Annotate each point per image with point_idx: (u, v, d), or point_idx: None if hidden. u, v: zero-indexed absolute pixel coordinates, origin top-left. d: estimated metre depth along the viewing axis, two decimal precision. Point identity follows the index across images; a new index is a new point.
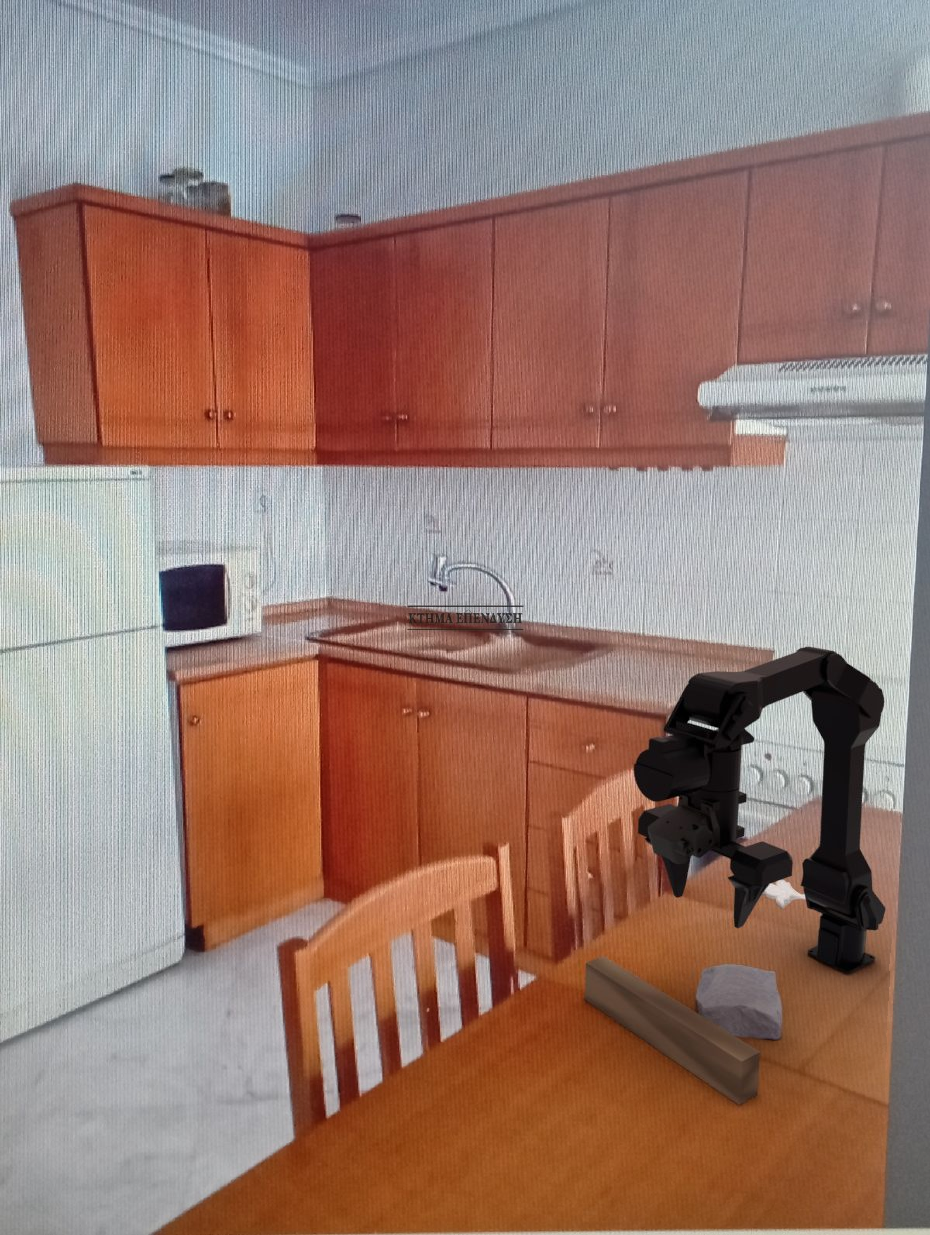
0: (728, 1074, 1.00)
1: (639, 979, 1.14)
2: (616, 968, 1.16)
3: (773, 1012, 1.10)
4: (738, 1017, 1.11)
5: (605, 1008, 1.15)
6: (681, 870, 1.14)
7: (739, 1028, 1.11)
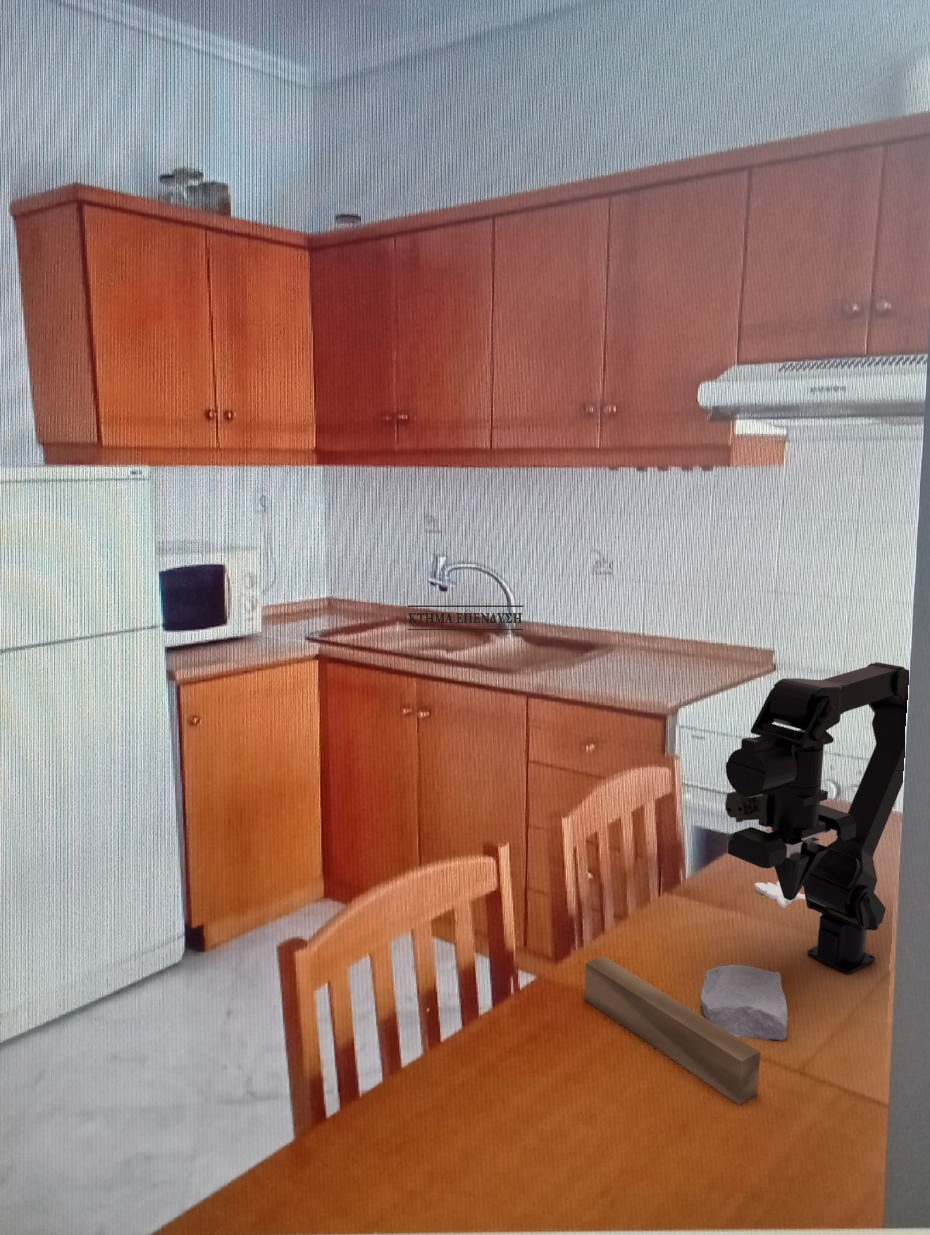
0: (728, 1074, 1.00)
1: (639, 979, 1.14)
2: (616, 968, 1.16)
3: (778, 1013, 1.10)
4: (743, 1018, 1.11)
5: (605, 1008, 1.15)
6: None
7: (744, 1029, 1.11)
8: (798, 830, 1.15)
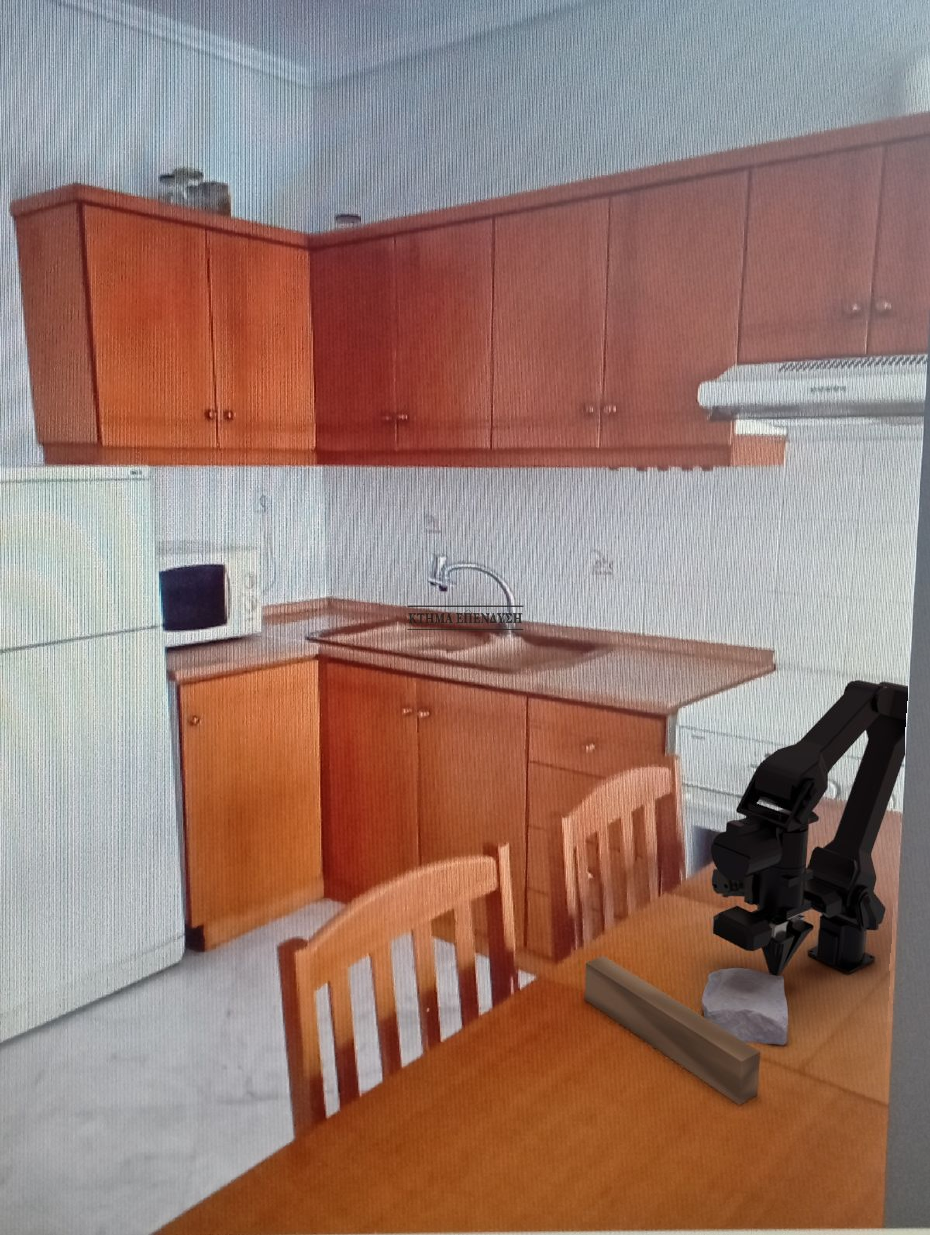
0: (728, 1074, 1.00)
1: (639, 979, 1.14)
2: (616, 968, 1.16)
3: (778, 1017, 1.09)
4: (743, 1022, 1.10)
5: (605, 1008, 1.15)
6: None
7: (744, 1033, 1.10)
8: (783, 910, 1.16)
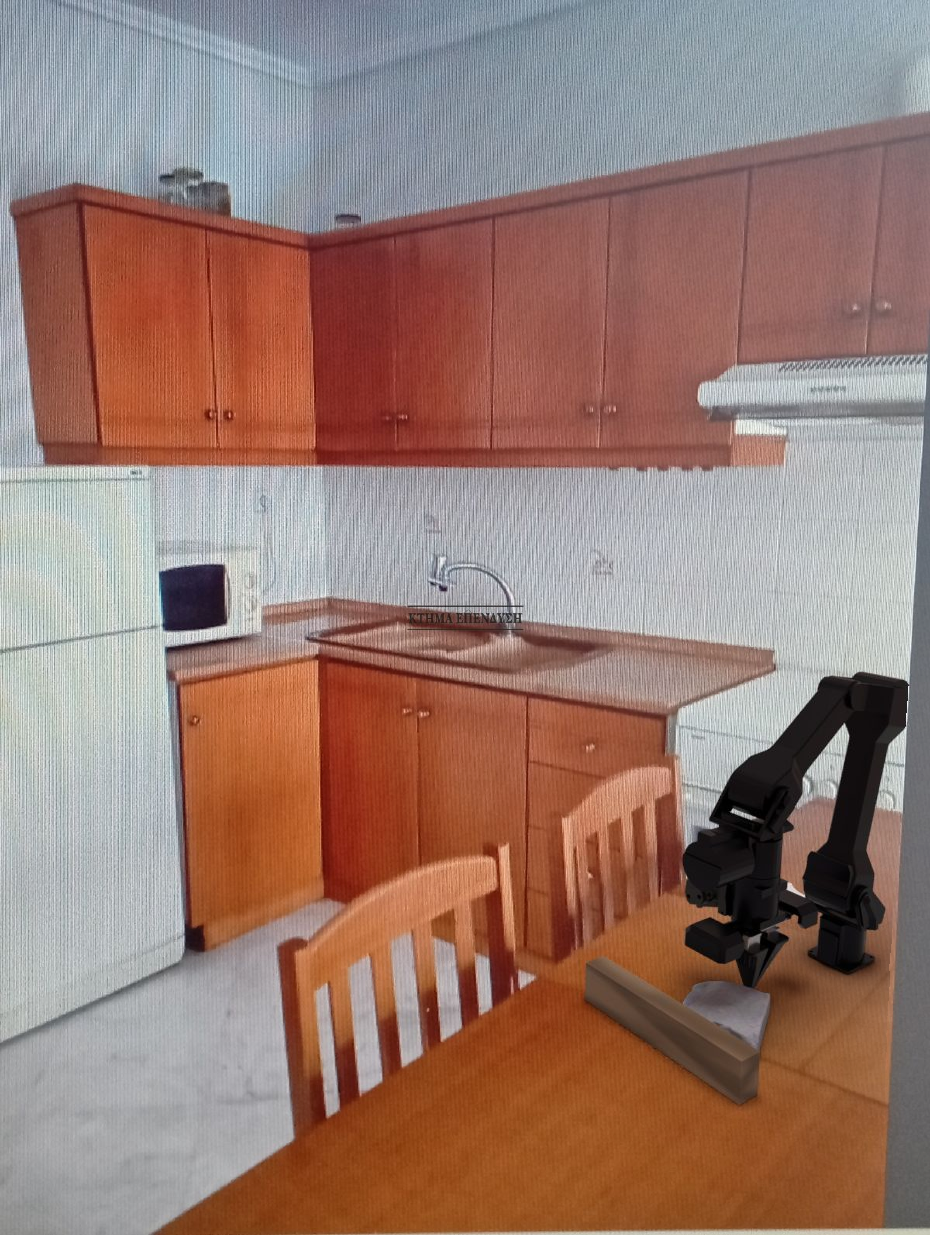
0: (728, 1074, 1.00)
1: (639, 979, 1.14)
2: (616, 968, 1.16)
3: (748, 1033, 1.06)
4: None
5: (605, 1008, 1.15)
6: None
7: None
8: (757, 922, 1.13)
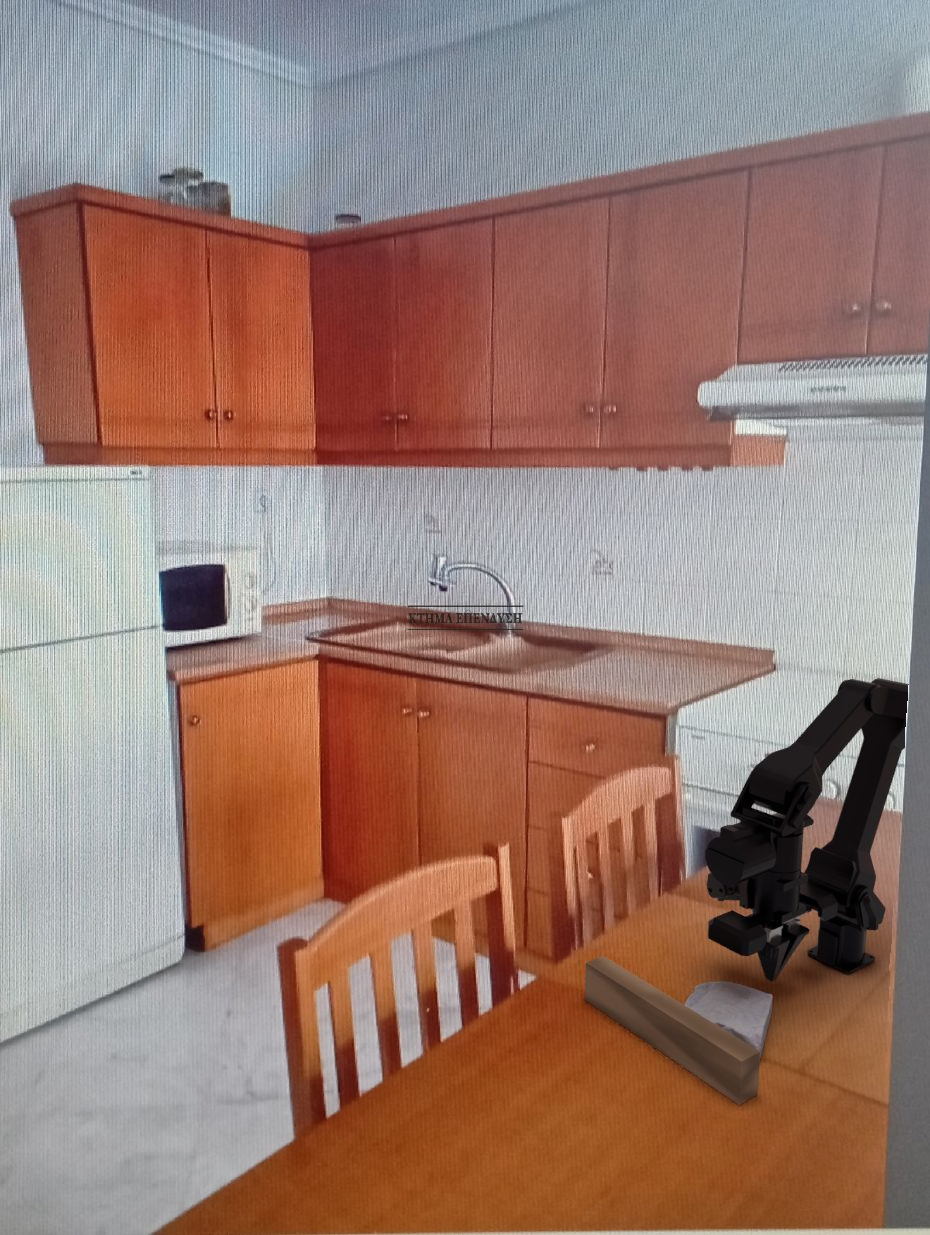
0: (728, 1074, 1.00)
1: (639, 979, 1.14)
2: (616, 968, 1.16)
3: (751, 1034, 1.06)
4: None
5: (605, 1008, 1.15)
6: None
7: None
8: (778, 915, 1.15)
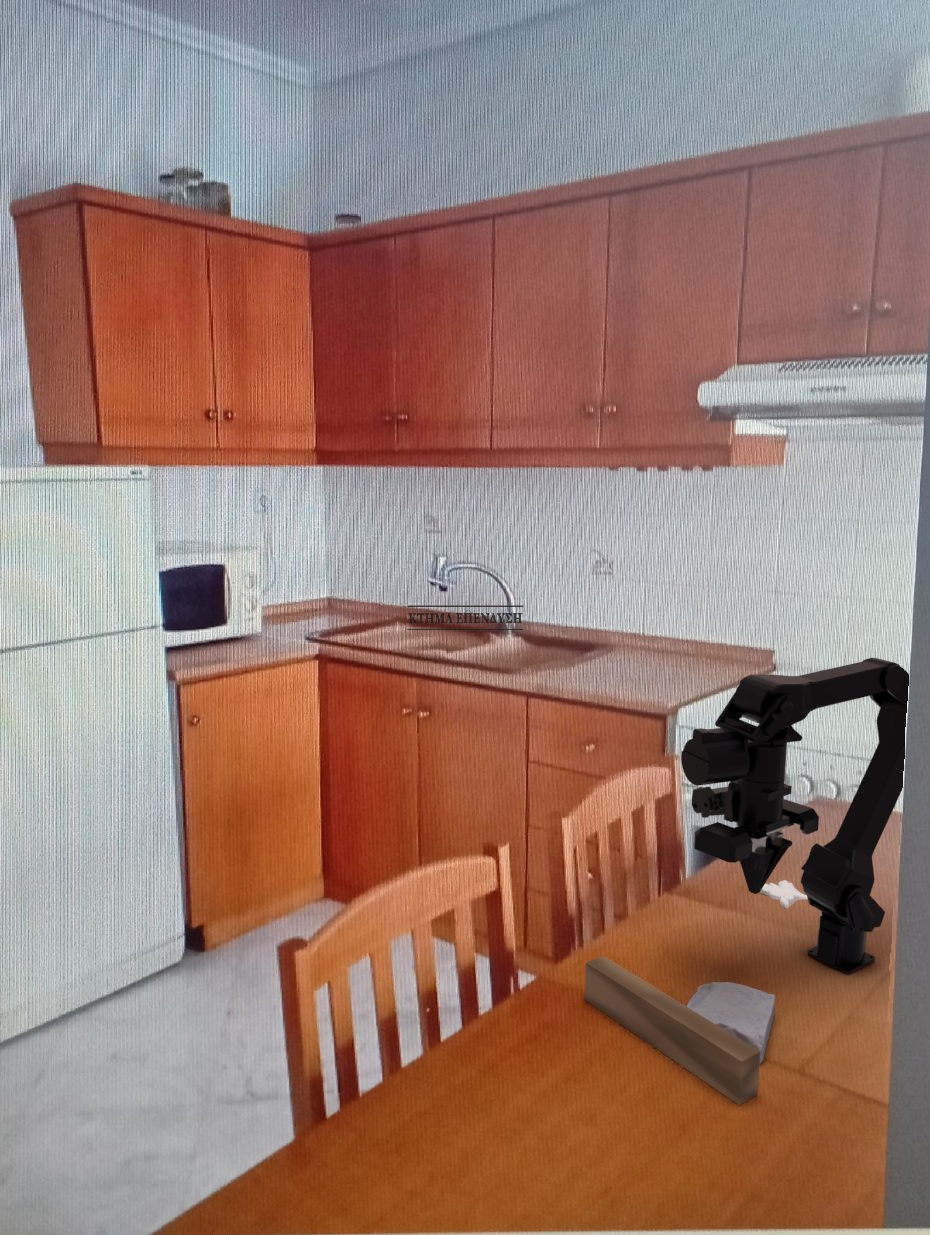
0: (728, 1074, 1.00)
1: (639, 979, 1.14)
2: (616, 968, 1.16)
3: (754, 1035, 1.06)
4: None
5: (605, 1008, 1.15)
6: None
7: None
8: (763, 824, 1.17)
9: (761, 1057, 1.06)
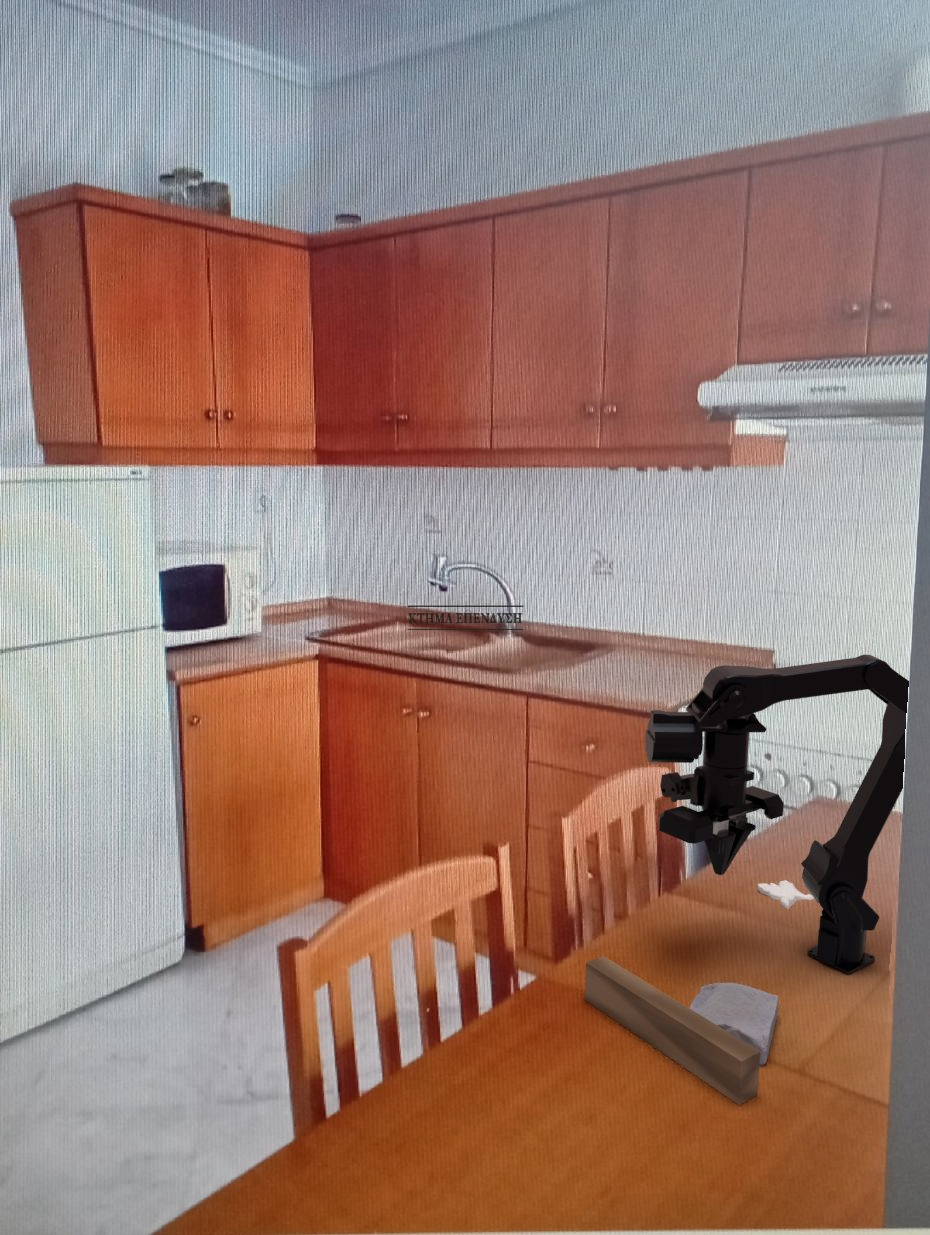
0: (728, 1074, 1.00)
1: (639, 979, 1.14)
2: (616, 968, 1.16)
3: (757, 1036, 1.05)
4: None
5: (605, 1008, 1.15)
6: None
7: None
8: (725, 808, 1.22)
9: (765, 1058, 1.05)
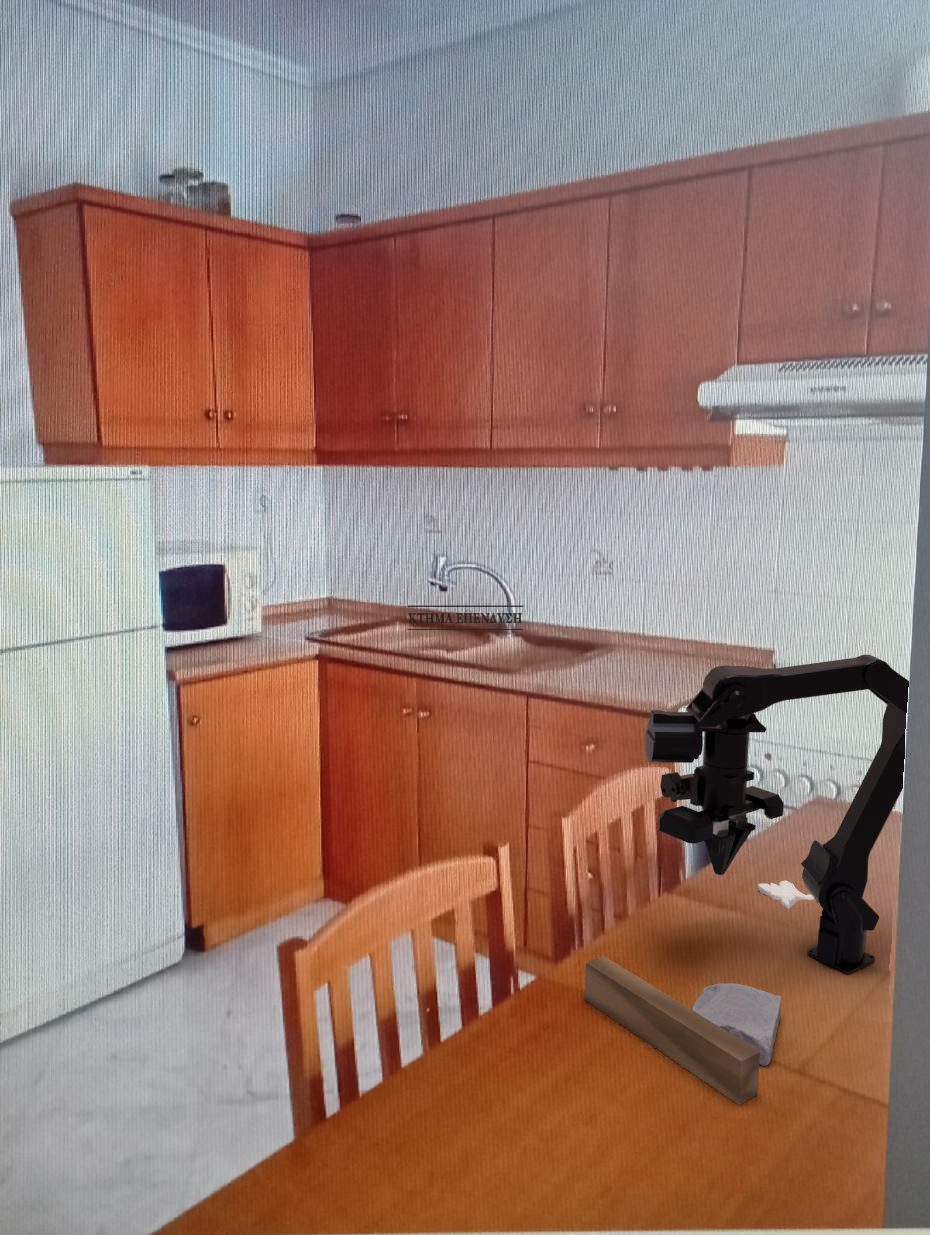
0: (728, 1074, 1.00)
1: (639, 979, 1.14)
2: (616, 968, 1.16)
3: (761, 1037, 1.05)
4: None
5: (605, 1008, 1.15)
6: None
7: None
8: (725, 808, 1.22)
9: (768, 1059, 1.05)
